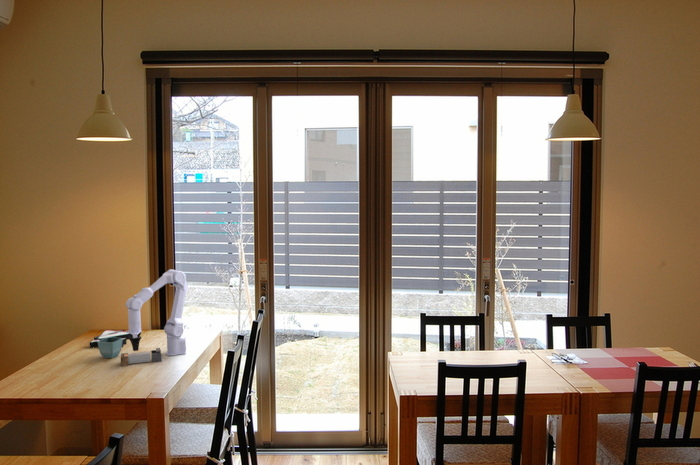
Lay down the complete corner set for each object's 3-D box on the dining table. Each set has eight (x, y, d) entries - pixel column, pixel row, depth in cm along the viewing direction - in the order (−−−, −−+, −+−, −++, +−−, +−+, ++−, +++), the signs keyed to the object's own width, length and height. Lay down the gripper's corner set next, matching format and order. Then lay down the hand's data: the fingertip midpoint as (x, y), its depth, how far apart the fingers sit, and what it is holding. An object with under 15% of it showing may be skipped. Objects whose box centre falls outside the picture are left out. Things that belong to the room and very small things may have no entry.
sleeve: (160, 357, 272) (160, 347, 271) (161, 361, 266) (161, 350, 266) (151, 359, 270) (151, 348, 270) (151, 362, 264) (151, 351, 264)
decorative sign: (87, 344, 286) (100, 330, 315) (87, 350, 286) (101, 336, 315) (123, 342, 290) (133, 328, 319) (123, 348, 290) (133, 334, 319)
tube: (150, 359, 269) (149, 351, 268) (150, 361, 265) (149, 353, 265) (124, 362, 264) (124, 354, 264) (124, 364, 261) (123, 356, 260)
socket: (128, 361, 266) (128, 352, 266) (128, 365, 260) (127, 356, 260) (121, 362, 265) (121, 353, 265) (121, 366, 259) (120, 357, 258)
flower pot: (112, 360, 269) (112, 342, 268) (97, 358, 270) (96, 341, 270) (123, 354, 277) (123, 338, 277) (108, 353, 279) (108, 337, 278)
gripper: (126, 319, 268) (127, 345, 269) (125, 326, 255) (126, 353, 256) (141, 317, 271) (142, 343, 272) (141, 324, 257) (142, 351, 258)
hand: (135, 348), depth 264 cm, fingers open, 7 cm apart
